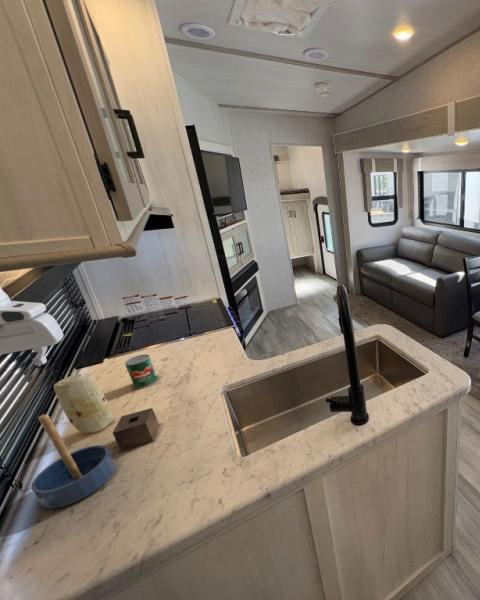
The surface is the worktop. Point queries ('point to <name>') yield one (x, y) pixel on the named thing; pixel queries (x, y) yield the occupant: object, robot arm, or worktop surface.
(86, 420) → the food model
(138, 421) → the holder
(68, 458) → the stick
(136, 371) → the canned tomato
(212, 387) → the worktop surface
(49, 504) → the bowl
